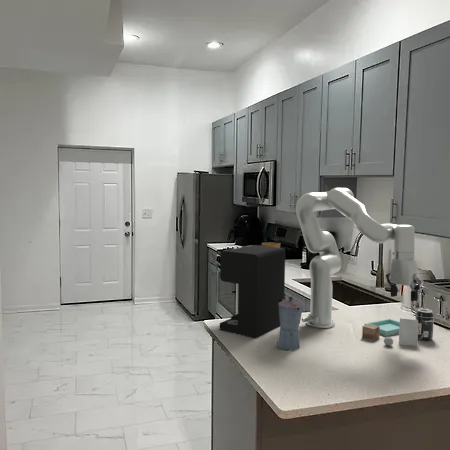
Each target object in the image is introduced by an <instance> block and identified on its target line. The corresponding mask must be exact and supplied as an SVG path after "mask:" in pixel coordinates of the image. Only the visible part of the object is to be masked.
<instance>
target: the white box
mask: <svg viewBox="0 0 450 450" xmlns="http://www.w3.org/2000/svg"><path fill="white" fill-rule="evenodd" d="M399 322H400V326H399V334H398V344H399V345H403V346H404V345H405V346H411V347H412V346H413V347H417V346H418V340H419V339H418V320H416V319H411V318H401V317H400V318H399Z"/></svg>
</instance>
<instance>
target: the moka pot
mask: <svg viewBox="0 0 450 450" xmlns="http://www.w3.org/2000/svg"><path fill="white" fill-rule="evenodd" d="M293 299H294V298H293V296H289V297H288V300H287V299H285V298H284V299H283V298H282V297H281V299H280V300H279V303H278V305H279V318H280V327H279V333H278V339H277V347H278V348H279V349H281V350H282V351H287V352H289V351H291V352H293V351H297V350H299V349H300V348H301V347H300V343H301V342H300V333H299V326H300V324H301V321H302V314H303V307H304V306H303V304H302V302H299V301H297V300H296V301H295V300H293Z"/></svg>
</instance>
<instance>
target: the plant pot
mask: <svg viewBox="0 0 450 450" xmlns="http://www.w3.org/2000/svg"><path fill="white" fill-rule="evenodd" d="M261 246H267V247H277V248H281V243H280V242H262V243H261Z"/></svg>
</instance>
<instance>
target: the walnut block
mask: <svg viewBox="0 0 450 450" xmlns="http://www.w3.org/2000/svg"><path fill="white" fill-rule="evenodd" d="M361 331H362V332H361V333H362V334H361V338H362V339H365V340H369V341H372V342H373V341H376V340H378V339H380V334H379V331H380V326H376V325H372V324H367V325H365V324H364V325H362V330H361Z"/></svg>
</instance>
